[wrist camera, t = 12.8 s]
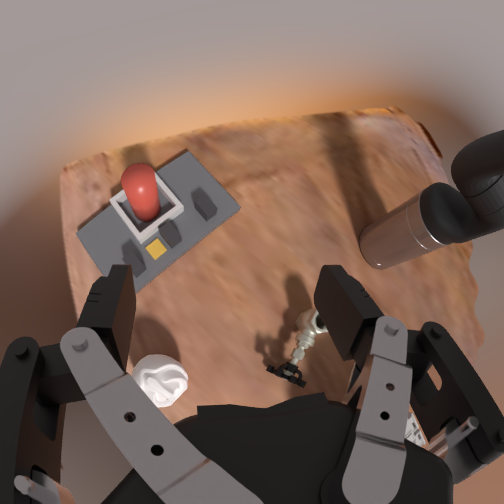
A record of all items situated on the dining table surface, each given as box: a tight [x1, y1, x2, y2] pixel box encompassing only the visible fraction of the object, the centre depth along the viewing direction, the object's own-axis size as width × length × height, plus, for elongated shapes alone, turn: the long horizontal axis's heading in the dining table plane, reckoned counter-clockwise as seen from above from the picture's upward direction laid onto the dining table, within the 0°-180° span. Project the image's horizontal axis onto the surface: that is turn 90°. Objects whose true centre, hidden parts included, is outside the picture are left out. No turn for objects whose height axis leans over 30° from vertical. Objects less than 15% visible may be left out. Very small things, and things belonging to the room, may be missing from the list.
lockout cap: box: [121, 163, 161, 222], centre depth 39 cm, size 5×5×10 cm
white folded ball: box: [132, 354, 188, 408], centre depth 35 cm, size 8×8×8 cm
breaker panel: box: [76, 151, 240, 294], centre depth 43 cm, size 24×14×4 cm, turn 133°
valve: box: [266, 308, 328, 388], centre depth 41 cm, size 7×7×12 cm
